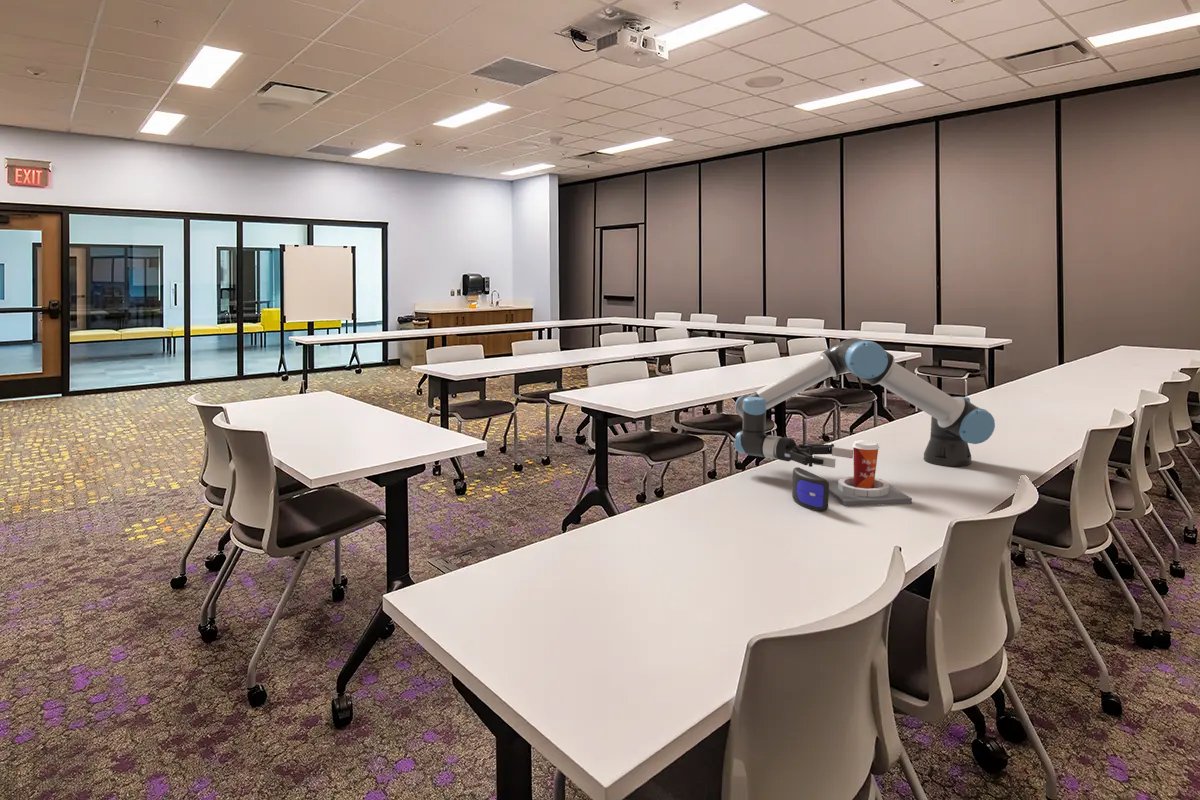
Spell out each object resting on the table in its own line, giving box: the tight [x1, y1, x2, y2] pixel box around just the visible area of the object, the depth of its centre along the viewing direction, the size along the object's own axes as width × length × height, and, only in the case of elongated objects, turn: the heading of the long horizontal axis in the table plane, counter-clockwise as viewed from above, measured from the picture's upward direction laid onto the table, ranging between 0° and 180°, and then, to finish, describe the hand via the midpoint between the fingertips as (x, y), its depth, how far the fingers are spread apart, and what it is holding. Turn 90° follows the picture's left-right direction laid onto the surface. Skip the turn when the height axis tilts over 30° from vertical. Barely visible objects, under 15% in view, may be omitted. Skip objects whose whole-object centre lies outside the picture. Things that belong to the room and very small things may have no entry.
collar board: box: [827, 476, 913, 507], centre depth 210 cm, size 20×20×4 cm
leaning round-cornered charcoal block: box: [791, 467, 830, 512], centre depth 201 cm, size 16×5×9 cm, turn 17°
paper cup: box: [852, 439, 880, 489], centre depth 211 cm, size 8×8×14 cm
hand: (844, 458), depth 213 cm, fingers open, 13 cm apart
